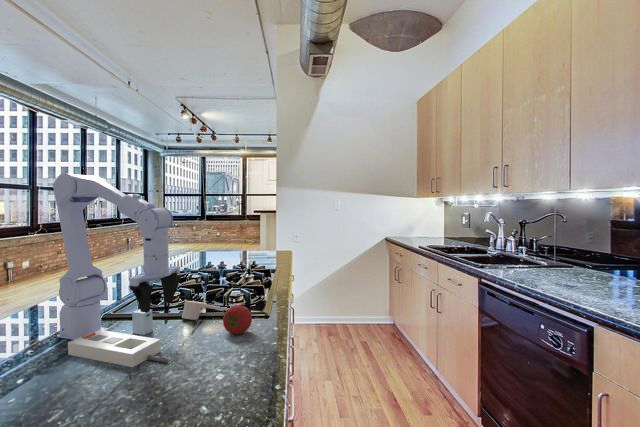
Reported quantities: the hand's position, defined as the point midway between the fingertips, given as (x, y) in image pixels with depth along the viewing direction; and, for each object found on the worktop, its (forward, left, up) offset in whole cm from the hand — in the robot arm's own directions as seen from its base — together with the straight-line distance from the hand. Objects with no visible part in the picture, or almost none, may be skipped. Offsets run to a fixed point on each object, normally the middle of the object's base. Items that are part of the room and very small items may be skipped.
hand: (157, 306), depth 84 cm
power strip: (-2, -8, -9) cm, 12 cm away
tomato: (+17, +11, -10) cm, 22 cm away
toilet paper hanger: (-2, +22, -10) cm, 25 cm away
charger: (-9, +4, -9) cm, 14 cm away
